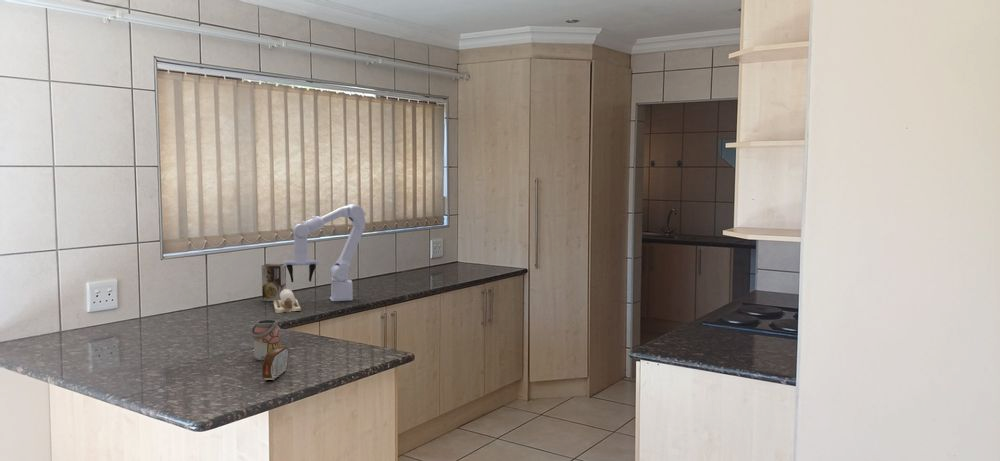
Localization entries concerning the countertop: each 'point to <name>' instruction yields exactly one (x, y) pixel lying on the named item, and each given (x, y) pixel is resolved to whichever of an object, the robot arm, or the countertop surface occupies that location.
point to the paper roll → (287, 296)
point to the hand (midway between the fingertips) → (301, 281)
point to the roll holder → (286, 306)
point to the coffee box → (273, 281)
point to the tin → (275, 361)
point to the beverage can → (265, 337)
